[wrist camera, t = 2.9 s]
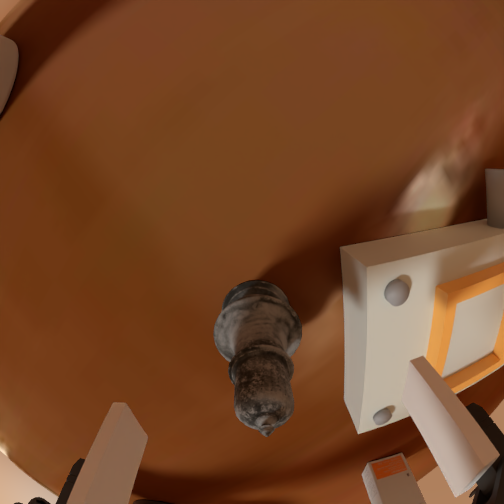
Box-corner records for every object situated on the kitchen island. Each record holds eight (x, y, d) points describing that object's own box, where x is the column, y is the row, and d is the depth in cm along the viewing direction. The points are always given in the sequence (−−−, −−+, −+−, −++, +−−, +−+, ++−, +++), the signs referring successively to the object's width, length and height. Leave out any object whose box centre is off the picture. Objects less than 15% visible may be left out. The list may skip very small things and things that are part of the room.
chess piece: (272, 262, 20) (306, 364, 9) (305, 323, 22) (351, 440, 10) (203, 298, 21) (167, 416, 9) (241, 353, 22) (240, 477, 11)
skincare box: (402, 450, 28) (429, 507, 17) (394, 464, 29) (417, 517, 18) (366, 461, 28) (389, 524, 17) (360, 474, 29) (379, 532, 18)
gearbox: (343, 399, 24) (362, 445, 18) (331, 179, 19) (370, 180, 13) (493, 338, 24) (522, 362, 17) (508, 168, 18) (551, 172, 12)
